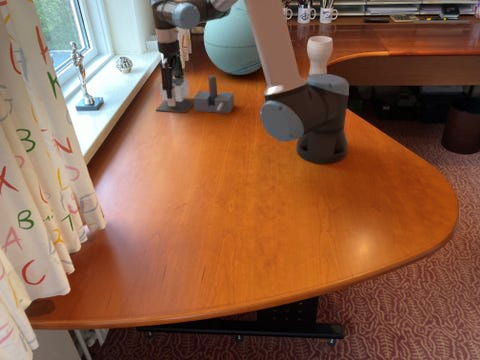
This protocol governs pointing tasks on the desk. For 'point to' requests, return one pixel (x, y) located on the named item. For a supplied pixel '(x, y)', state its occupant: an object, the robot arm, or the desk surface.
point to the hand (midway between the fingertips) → (176, 100)
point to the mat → (177, 106)
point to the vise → (213, 99)
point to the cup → (319, 53)
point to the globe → (232, 42)
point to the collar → (177, 89)
